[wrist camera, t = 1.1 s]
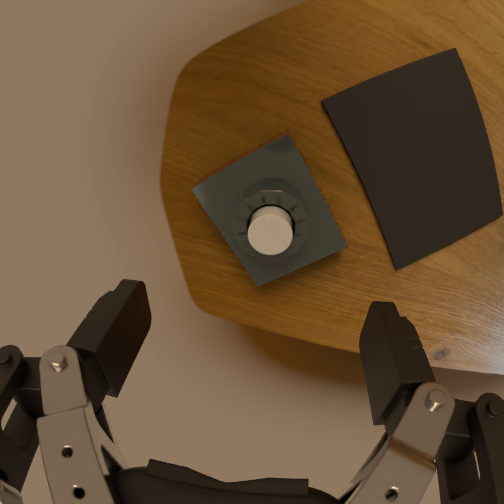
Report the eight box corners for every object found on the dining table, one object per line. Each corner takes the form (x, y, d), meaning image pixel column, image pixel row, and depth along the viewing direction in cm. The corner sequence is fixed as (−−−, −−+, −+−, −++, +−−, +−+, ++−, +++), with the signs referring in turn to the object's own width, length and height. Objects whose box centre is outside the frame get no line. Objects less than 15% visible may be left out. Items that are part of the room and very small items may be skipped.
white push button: (242, 217, 26) (239, 227, 24) (279, 198, 25) (279, 207, 23) (263, 249, 28) (261, 261, 26) (299, 233, 26) (300, 244, 25)
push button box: (198, 179, 30) (184, 196, 25) (288, 129, 26) (289, 136, 22) (259, 271, 34) (255, 298, 30) (342, 233, 31) (351, 257, 27)
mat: (320, 101, 25) (321, 101, 24) (453, 48, 19) (455, 48, 19) (395, 268, 32) (396, 270, 32) (501, 213, 27) (503, 214, 27)
